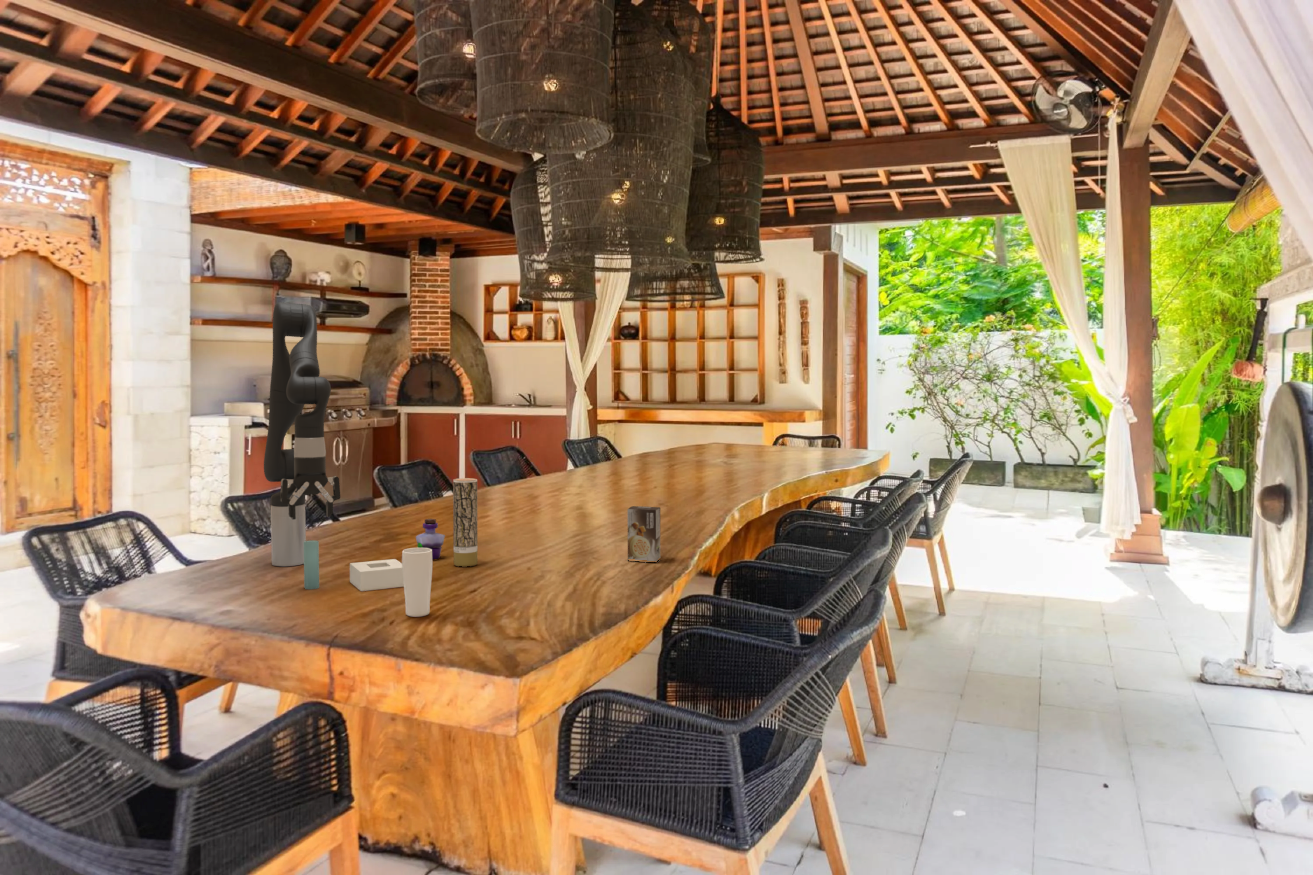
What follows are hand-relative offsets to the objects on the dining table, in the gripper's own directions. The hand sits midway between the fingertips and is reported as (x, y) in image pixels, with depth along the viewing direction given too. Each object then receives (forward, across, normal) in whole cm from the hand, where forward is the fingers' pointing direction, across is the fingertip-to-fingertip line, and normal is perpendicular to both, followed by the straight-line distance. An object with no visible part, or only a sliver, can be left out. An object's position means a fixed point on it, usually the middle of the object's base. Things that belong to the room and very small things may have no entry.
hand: (311, 517), depth 234 cm
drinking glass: (+19, -16, +39) cm, 46 cm away
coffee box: (+19, -93, +11) cm, 95 cm away
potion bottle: (+18, -38, -22) cm, 48 cm away
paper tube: (+18, -44, -8) cm, 48 cm away
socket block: (+18, -16, +4) cm, 24 cm away
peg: (+18, 0, 0) cm, 18 cm away
